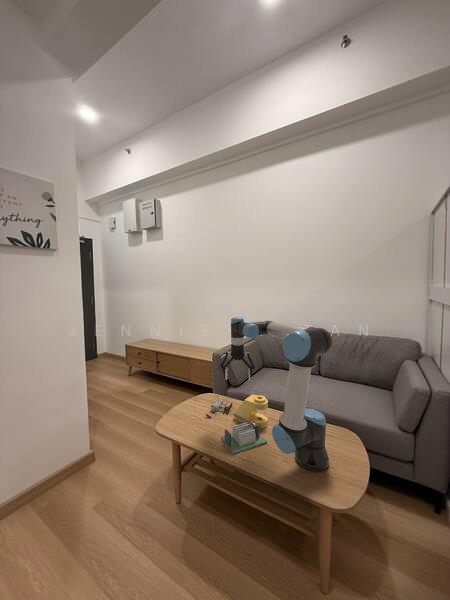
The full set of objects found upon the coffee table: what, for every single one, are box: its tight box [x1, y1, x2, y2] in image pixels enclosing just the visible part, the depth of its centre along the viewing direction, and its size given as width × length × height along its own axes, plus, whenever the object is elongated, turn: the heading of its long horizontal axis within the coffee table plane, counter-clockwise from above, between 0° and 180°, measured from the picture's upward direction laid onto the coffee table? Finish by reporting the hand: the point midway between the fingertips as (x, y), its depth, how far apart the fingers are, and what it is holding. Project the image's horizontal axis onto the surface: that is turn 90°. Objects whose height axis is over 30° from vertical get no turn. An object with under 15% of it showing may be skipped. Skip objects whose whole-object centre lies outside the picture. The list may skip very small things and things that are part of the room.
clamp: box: [233, 393, 269, 430], centre depth 148 cm, size 20×9×16 cm, turn 54°
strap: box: [232, 412, 256, 427], centre depth 130 cm, size 15×4×1 cm
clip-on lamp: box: [204, 398, 233, 419], centre depth 158 cm, size 12×6×18 cm
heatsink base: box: [220, 421, 268, 455], centre depth 130 cm, size 20×14×8 cm
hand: (237, 379), depth 144 cm, fingers open, 13 cm apart
